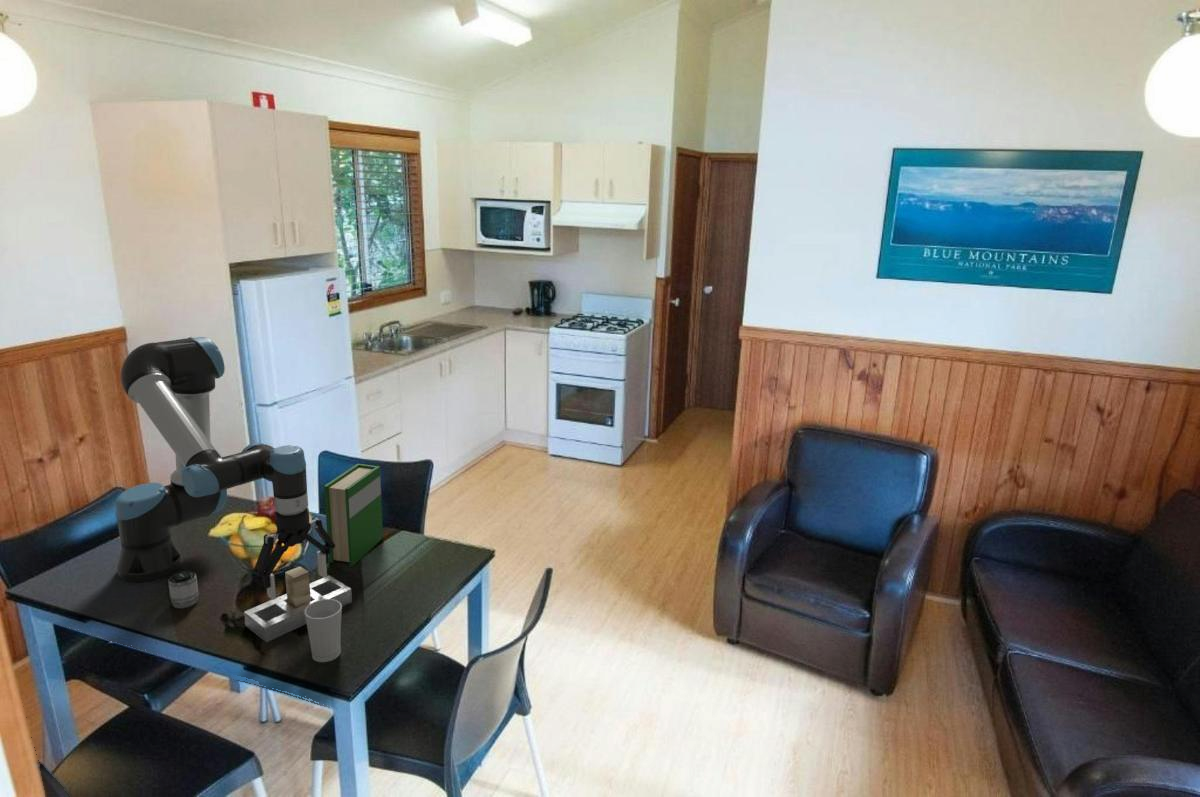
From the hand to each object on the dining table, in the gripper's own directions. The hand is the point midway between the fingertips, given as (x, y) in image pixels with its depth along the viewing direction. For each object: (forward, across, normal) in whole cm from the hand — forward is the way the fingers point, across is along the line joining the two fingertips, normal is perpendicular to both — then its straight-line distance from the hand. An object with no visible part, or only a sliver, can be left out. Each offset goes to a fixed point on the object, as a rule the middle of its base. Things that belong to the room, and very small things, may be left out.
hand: (298, 586), depth 176 cm
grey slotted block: (+8, 0, 0) cm, 8 cm away
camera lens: (+8, -16, +26) cm, 32 cm away
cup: (+8, -4, -19) cm, 21 cm away
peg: (+8, 0, 0) cm, 8 cm away
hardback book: (+8, +28, +18) cm, 35 cm away
